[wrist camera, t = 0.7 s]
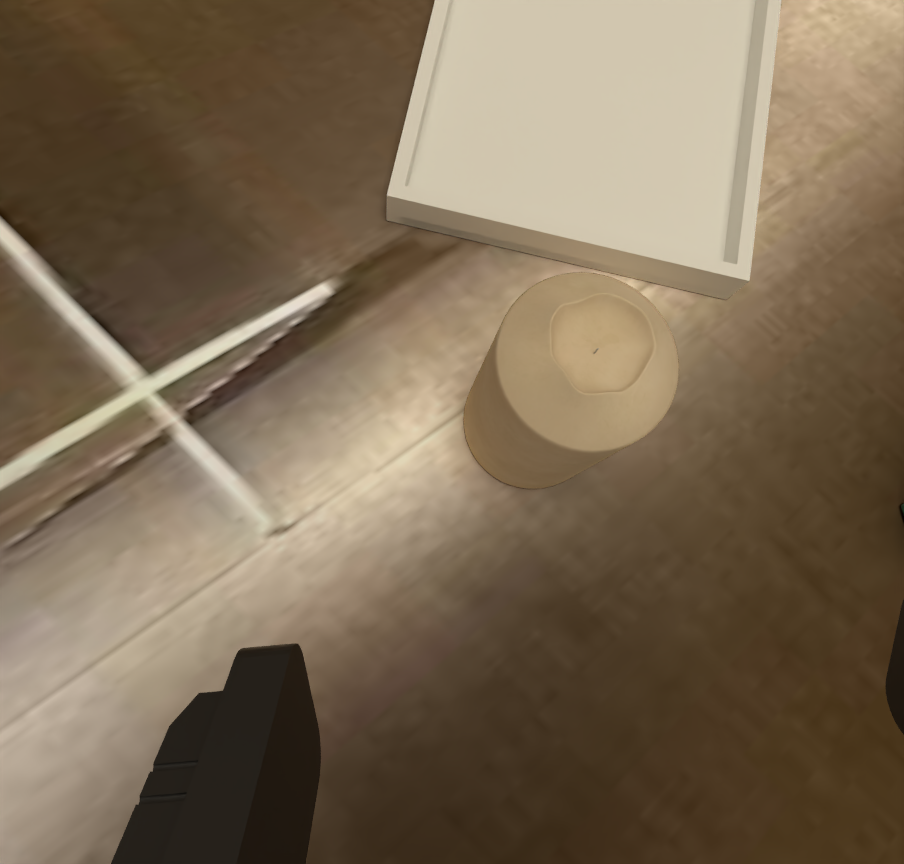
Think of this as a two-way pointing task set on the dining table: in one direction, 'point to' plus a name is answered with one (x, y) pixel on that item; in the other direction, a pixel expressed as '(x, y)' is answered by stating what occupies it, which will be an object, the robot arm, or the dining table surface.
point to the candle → (570, 380)
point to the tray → (594, 133)
